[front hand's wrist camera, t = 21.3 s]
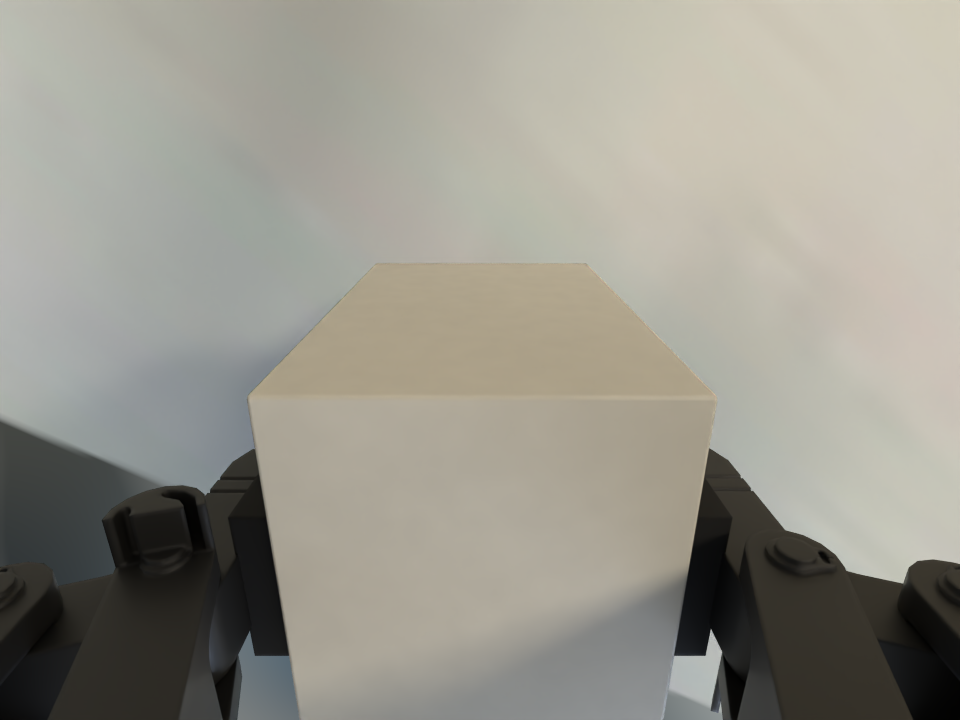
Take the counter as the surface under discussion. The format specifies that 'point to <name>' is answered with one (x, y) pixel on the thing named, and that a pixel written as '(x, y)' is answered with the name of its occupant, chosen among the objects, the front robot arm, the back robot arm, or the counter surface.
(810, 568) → the front robot arm
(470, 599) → the block
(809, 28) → the counter surface
